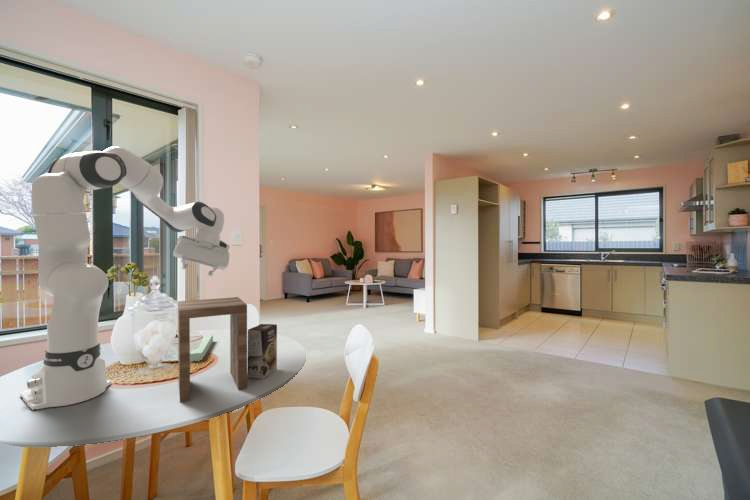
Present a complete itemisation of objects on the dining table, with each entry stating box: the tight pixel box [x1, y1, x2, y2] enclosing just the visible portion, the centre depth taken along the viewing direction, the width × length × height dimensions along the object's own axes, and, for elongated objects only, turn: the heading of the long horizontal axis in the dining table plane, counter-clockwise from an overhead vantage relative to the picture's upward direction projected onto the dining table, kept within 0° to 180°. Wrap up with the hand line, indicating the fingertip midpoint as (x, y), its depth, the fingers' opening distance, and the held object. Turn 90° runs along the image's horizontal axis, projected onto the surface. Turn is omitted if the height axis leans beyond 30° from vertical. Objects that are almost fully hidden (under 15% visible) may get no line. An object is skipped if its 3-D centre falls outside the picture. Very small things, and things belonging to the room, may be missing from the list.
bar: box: [190, 334, 214, 363], centre depth 140 cm, size 26×4×4 cm, turn 17°
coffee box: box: [247, 323, 278, 380], centre depth 117 cm, size 9×6×16 cm
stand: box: [177, 296, 248, 403], centre depth 107 cm, size 16×18×26 cm
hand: (197, 272), depth 133 cm, fingers open, 8 cm apart
